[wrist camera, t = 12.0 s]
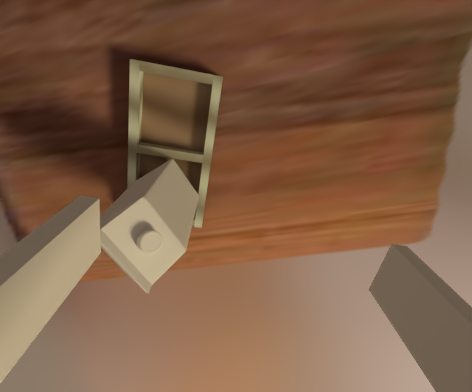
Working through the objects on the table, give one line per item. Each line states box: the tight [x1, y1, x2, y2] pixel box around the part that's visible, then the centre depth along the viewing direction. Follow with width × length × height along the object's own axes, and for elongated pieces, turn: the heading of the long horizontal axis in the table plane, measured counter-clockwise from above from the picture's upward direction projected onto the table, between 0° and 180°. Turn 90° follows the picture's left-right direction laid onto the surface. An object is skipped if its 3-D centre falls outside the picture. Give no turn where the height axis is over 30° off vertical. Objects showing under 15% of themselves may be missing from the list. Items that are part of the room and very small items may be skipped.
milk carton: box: [100, 159, 199, 293], centre depth 31 cm, size 7×7×19 cm
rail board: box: [127, 59, 223, 228], centre depth 40 cm, size 23×12×3 cm, turn 170°
